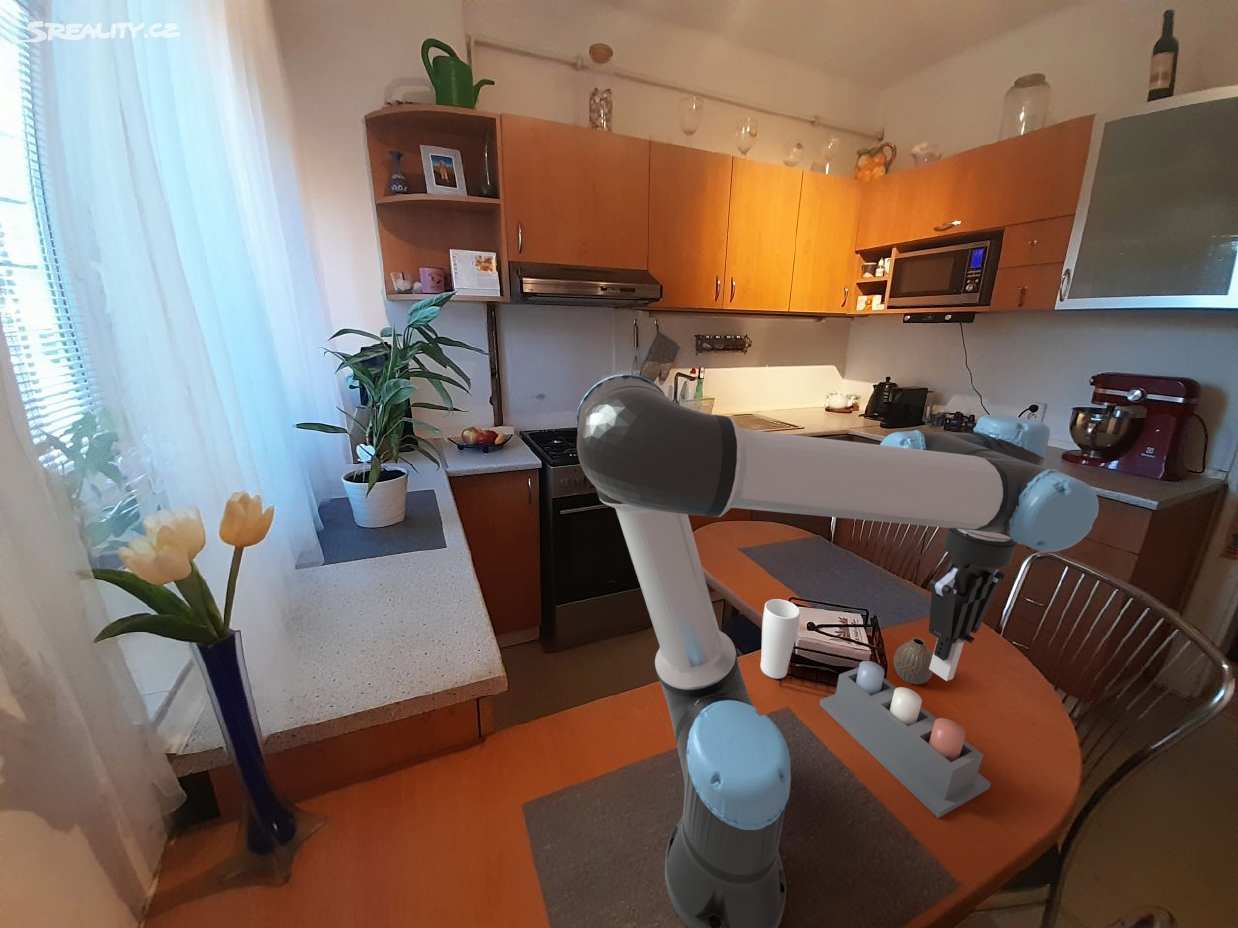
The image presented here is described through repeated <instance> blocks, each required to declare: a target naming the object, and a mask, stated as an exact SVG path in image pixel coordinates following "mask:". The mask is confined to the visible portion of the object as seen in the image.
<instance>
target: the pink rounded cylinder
mask: <svg viewBox="0 0 1238 928" xmlns="http://www.w3.org/2000/svg"><path fill="white" fill-rule="evenodd" d="M965 738H966V731H965V730H964V728H963V727H962V726H961V725H960V724H958V723H957V722H955V721H953V720H952V719H948V718H945V717H944V718H943V717H939V718H937V719H936V720H935V723H934V726H933V730H932V733H931V737H930V741H929V745H931V746H932V747H933V748H934V749H935V750H937V751H938V752H939V753H940V754H942V755H943V756H944V757H945V758H946V759H948V760H949V761H950V762H953V761H955V760H957V759H959V756H960V753H961V749H962V746H963V743H964V740H965ZM965 741H966V740H965Z"/></svg>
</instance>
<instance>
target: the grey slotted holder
mask: <svg viewBox="0 0 1238 928" xmlns="http://www.w3.org/2000/svg"><path fill="white" fill-rule="evenodd" d="M858 670H859V667H856V668H853V669H851V670H848V671H845V672H842V673H840V674H838V679H837V685H836V687H835V690H836V691H835V693H834V694H832V695H829V696H826V697H824V698H821V699H819V706H820V707H821V708H822V709H823V710H824V711H825V712H826V713H827V714H828V715H829V716H830V717H831V718H833V719H834V720H835V721H836V722H837V723H838V724H839V725H840V726H841V727H842V728H843V729H844V730H845V731H846V732H847V733H848V734H849V735H850V736H851V737H852V738H853V739H854V740H856V742H857V743H858V744H859V745H861V746H862V747H863V749H865V750H866V751H867V752H868V753H869V755H871V756H873V757H874V759H876V760H877V761H878V762H879V763H880V764H881V765H882V766H883V767H884V768H885V769H886V770H887V771H888V772H889V773H890V774H891V775H892V776H893V777H894V778H895V779H896V780H898V781H899V783H900V784H902V786H903V787H905V788H906V789H907V790H908V791H909V792H910V793H911V794H912V795H913V796H914V797H915V798H917V800H918V801H919V802H921V803H922V805H924V806H925V807H926V808H927V809H928V810H929V811H930V812H931V813H932V814H933V815H934V816H936V818H938V819H939V818H941V817H944V815H946V814H948V813H950V812H952V811H954V810H955V809H957V808H959V807H960V806H962V805H963V804H966V803H967V802H968V801H971V800H972V799H975V797H978V796H980V795H981V794H983V793H985V792H986V791H988V790H989V789H990V787H991V785H992V783H991V782H990V781H989V780H988V779H986V777H984V776H983V775H981V774H980V773H979V769H980V766H981V763H982V760H983V758H984V754H983V753H982V752H981V751H980V750H978V749H977V748H975V747H974V745H972V744H971V743H969V742H968V741H966V740H964V743H963V746H962V749H961V753H960V756H959V759H957V760H955V761H953V762H950V761H949V760H948V759H946V758H945V757H944V756H943V755H942V754H940V753H939V752H938V751H937V750H935V749H934V748H933V747H932V746H931V745H929V741H930V737H931V733H932V730H933V726H934V723H935V720H936V719H938V718H937V717H935V716H934V715H933V714H932V713H931V712H929V711H928V710H927V709H925V708H924V707H922V706H921V707H920V711H919V715H918V719H917V722H916V723H915V724H912V725H910V726H907V725H905V724H904V723H903V722H902V721H901V720H899V719H898V718H897V717H896V716H895V715H893V714H892V713H891V712H890V707H891V703H892V699H893V694H894V690H895V689H896V688H897V687H896V686H895V685H894V684H892V683H891V682H890V681H889V680H887V679H886V678H885V677H883V682H882V686H881V690H880V692H879V693H877V694H874V695H872V696H870V695H869V694H868V693H867V692H866V691H864V690H863V689H862V688H861V687H860V686H858V685H857V684H856V680H857V675H858Z"/></svg>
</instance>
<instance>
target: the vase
mask: <svg viewBox="0 0 1238 928" xmlns="http://www.w3.org/2000/svg"><path fill="white" fill-rule="evenodd" d="M932 656H933V653H931V651H930V649H929V648H928V645H927V643H926V642H925V640H923V639H922V638H919V637H913V638H912V639H910V640H908V641H907V642H905V643H903V644H900V646H899V647H898V648H897V649H896V650H895V653H894V656H893V666H894V667H893V668H894V670H895V672H896V674H897V676H899V677H900V679H902V681H904V682H906V683H908V684H912V685H922V684H925V683H927V682H928V681H929V680H930V679H931V677H932V676H933V674H934V672H933V671H931V670H930V669H929V667H930V663H931V660H932Z"/></svg>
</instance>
